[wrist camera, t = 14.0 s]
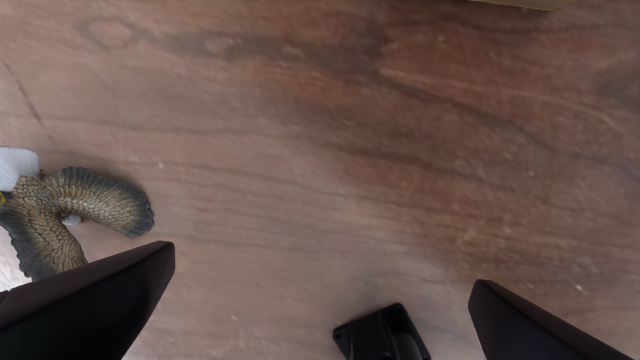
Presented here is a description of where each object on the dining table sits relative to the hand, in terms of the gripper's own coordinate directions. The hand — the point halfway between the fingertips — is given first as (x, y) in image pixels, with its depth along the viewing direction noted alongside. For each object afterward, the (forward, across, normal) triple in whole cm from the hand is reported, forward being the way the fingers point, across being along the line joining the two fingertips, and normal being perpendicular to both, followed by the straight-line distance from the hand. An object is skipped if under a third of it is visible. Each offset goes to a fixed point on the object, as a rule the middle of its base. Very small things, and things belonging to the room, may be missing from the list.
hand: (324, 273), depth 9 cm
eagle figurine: (+13, +17, +5) cm, 22 cm away
